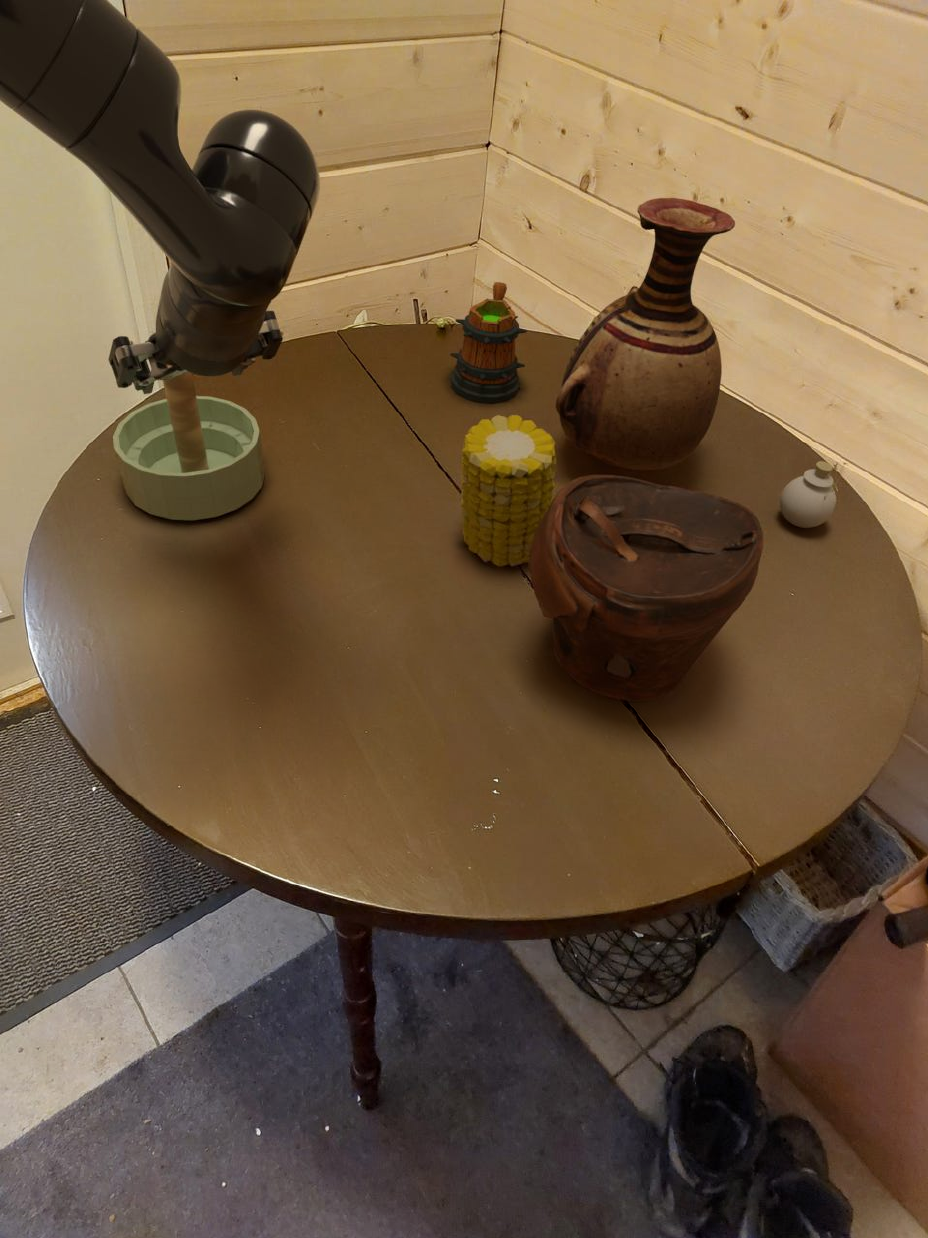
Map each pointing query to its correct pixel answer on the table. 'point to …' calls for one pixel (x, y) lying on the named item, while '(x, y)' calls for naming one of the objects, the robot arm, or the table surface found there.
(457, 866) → the table surface
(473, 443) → the food
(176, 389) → the stick
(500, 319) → the mug
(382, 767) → the table surface
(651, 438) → the vase
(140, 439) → the bowl
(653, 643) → the case
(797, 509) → the ornament
